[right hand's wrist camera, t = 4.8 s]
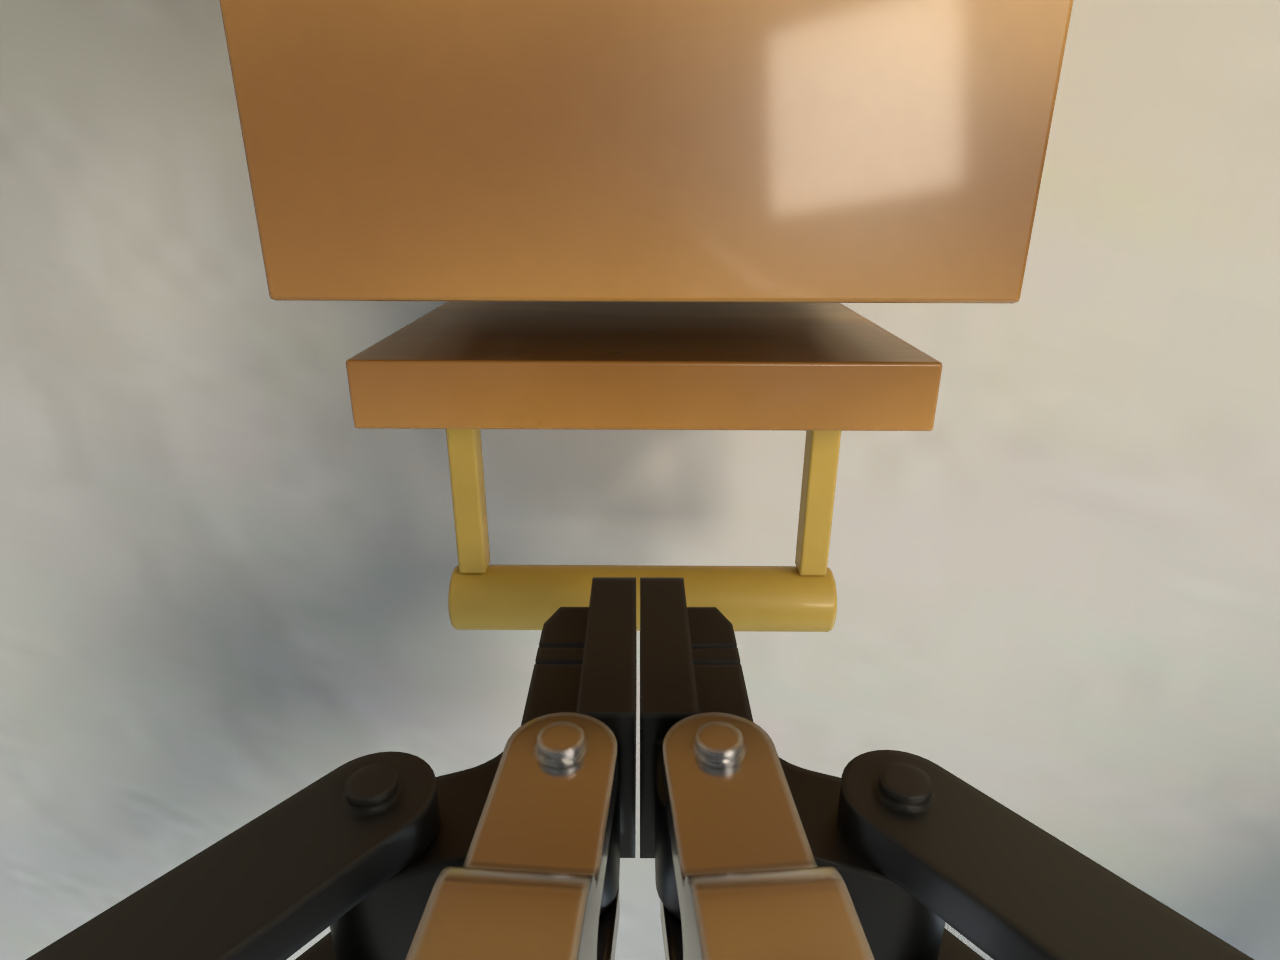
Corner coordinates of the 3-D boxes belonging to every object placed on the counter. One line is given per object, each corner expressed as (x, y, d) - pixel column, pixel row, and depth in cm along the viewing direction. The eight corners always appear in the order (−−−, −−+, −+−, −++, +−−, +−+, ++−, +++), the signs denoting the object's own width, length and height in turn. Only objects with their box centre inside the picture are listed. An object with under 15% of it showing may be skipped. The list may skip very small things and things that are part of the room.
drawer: (801, 509, 24) (893, 699, 15) (484, 508, 24) (390, 696, 15) (886, -467, 16) (1188, -1285, 7) (409, -467, 16) (116, -1283, 7)
